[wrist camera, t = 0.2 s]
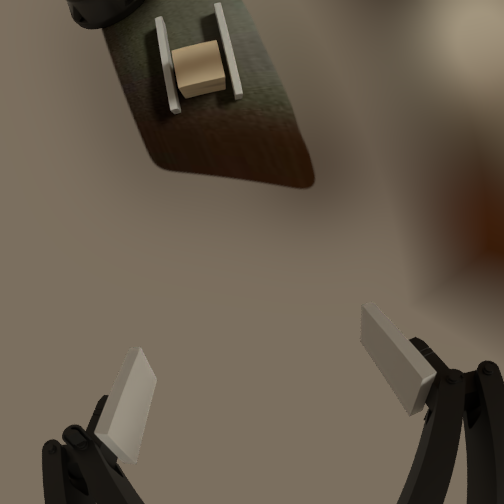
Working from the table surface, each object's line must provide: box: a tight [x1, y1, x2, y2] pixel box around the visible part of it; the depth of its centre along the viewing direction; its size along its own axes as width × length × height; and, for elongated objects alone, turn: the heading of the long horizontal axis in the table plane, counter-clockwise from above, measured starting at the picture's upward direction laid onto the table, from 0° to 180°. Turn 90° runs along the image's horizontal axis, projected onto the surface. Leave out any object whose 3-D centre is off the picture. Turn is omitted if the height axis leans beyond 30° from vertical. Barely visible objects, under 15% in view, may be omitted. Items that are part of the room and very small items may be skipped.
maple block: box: [172, 40, 226, 99], centre depth 30 cm, size 6×6×6 cm
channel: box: [155, 3, 243, 114], centre depth 31 cm, size 17×10×3 cm, turn 12°
